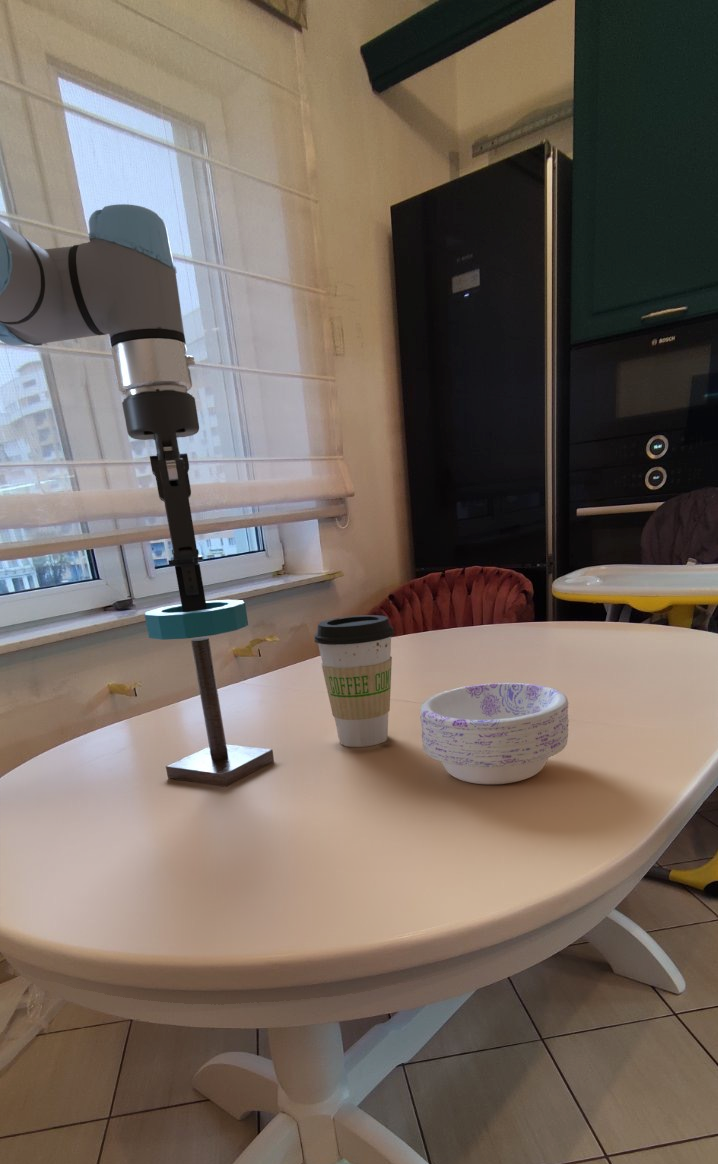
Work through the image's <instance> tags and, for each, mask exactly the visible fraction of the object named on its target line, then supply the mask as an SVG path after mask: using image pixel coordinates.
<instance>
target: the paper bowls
mask: <svg viewBox="0 0 718 1164" xmlns="http://www.w3.org/2000/svg"><path fill="white" fill-rule="evenodd" d="M419 712H420V723H421V742H422V750H423V752H424V753H425V754H426V755H427V756H428V757H430V758H432V759H433V760H435V761H439V762H441V763H442V766H443V767H444V769H445V770H446V771H447V773H448V774H449V775H450V776H452V777H454V778H455V779H457V780H460V781H462V782H466V783H471V784H477V785H504V784H512V783H518V782H521V781H524V780H527V779H529V778H531V777H533V776H536V775H537V774H538V773H539V772H541V771H542V770H543V768H545V765H546V764H547V761H548V760H549V758H551V757H553V756H555V755H557V754H559V753H560V752H562V751H563V750H564V749H565V748H566V747H567V745H568V739H569V700H568V697H567V695H566V694H565V693H564V692H562V691H560V690H558V689H556V688H553V687H550V686H546V685H540V684H532V683H522V682H521V683H520V682H497V683H495V682H493V683H481V684H480V683H479V684H474V685H473V684H472V685H467V686H461V687H456V688H452V689H449V690H444V691H442V692H438V693H436V694H434V695H432V696H430V697H428V698H427V699H426V700H424V701H423V703H422V705H421V706H420V709H419Z"/></svg>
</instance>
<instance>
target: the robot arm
mask: <svg viewBox="0 0 718 1164" xmlns="http://www.w3.org/2000/svg"><path fill="white" fill-rule="evenodd" d="M87 235H88V240H89V241H88V242H82V243H80V244H74V245H71V246H62V247H54V248H42V247H41V246H39V245H38V244H36V243H35V242H32V241H31V240H30V239H28V238H27V237H25V236H24V235H22V234H21V233H19V232H18V231H16V230H15V229H13V228H12V227H10V226H8V225H7V224H5V223H4V222H2V221H1V220H0V341H1V342H2V343H3V344H5V345H9V346H26V345H27V346H28V345H30V346H33V347H37V346H39V347H40V346H42V345H45V344H48V343H55V342H63V341H69V340H75V339H81V338H89V337H95V336H105V335H108V336H109V340H110V346H111V347H110V350H111V355H112V356H111V357H112V360H113V365H114V372H115V377H116V381H117V382H116V383H117V386H118V391H119V392H120V393H121V394H123V395H125V396H126V397H124V398H123V401H122V403H121V404H122V410H123V415H124V421H125V426H126V432H127V435H128V436H129V437H130V438H131V439H134V440H140V441H149V440H153V441H154V444H155V451H156V455H149V463H150V466H151V472H152V474H153V476H154V477H155V482H156V488H157V492H158V498H159V500H160V501H161V502H164V509H165V514H166V517H167V518H166V519H167V526H168V530H169V534H170V535H169V536H170V541H171V547H172V549H171V554H172V559H170V560H168V561H167V562H168V566H169V567H170V568H171V567H174V569H175V570H174V571H175V576H176V581H177V588H178V592H179V598H180V604H182V609H183V612H190V611H199V610H206V609H207V606H206V601H207V600H206V594H205V589H204V583H203V577H202V571H201V565H200V563H199V562H203V561H204V558H203V557H204V556H203V555H202V554H200V552H199V549H198V547H197V541H196V534H195V529H194V523H193V517H192V511H191V510H192V509H191V505H190V504H191V503H190V498H191V496H192V488H191V483H190V477H189V471H190V462H189V456H188V453H187V452H186V453H180V449H179V443H178V438H187V437H191V436H194V435H196V434H198V433H199V431H200V422H199V417H198V410H197V403H196V398H195V396H193V394H191V393H190V392H189V390H191V389H192V387H193V381H192V375H191V369H190V368H189V367H194V366H195V365H196V359H195V357H194V356H193V355H186V354H187V352H188V349H187V346H186V345H187V343H186V341H187V340H186V336H185V330H184V323H183V315H182V308H181V302H180V293H179V286H178V279H177V274H178V272H177V267H176V266H175V262H174V258H173V254H172V253H173V252H172V248H171V243H170V238H169V233H168V229H167V225H166V223H165V222H164V220H163V218H161V216H160V215H159V214H158V213H157V212H155V211H153V210H152V209H150V208H147V207H145V206H141V205H135V204H129V203H128V204H127V203H125V204H124V203H121V204H119V203H118V204H110V205H106V206H104V207H102V209H96V210H94V211H93V212H92V213H91V215H90V216H89V219H88V234H87Z"/></svg>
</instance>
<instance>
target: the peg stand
mask: <svg viewBox="0 0 718 1164" xmlns="http://www.w3.org/2000/svg"><path fill="white" fill-rule="evenodd" d="M190 645H191V649H192V656H193V661H194V667H195V673H196V678H197V679H196V680H197V684H198V690H199V696H200V702H201V708H202V714H203V719H204V725H205V730H206V737H207V741H208V742H207V743H208V746H207V747H205V748H203V749H201V750H199V751H197V752H194V753H192V754H189V755H187V756H186V757H185V756H184V757H183V758H181V759H179V760H176V761H174V762H172V763H170V764H167V765H166V766H165V770H166V775H167V778H168V779H171V780H178V781H185V782H192V783H199V784H206V785H207V784H208V785H211V786H212V785H214V786H219V787H220V786H221V787H228V786H229V785H232V784H233V783H236V782H237V781H239V780H240V779H243V778H244V777H246V776H248V775H250V774H252V773H254V772H256V771H258V770H260V769H262V768H264V767H265V766H268V765H269V764H271V763H273V762H274V761H275V758H274V752H273V751H274V750H273V749H272V748H262V747H254V746H245V745H234V744H227V740H226V735H225V728H224V722H223V717H222V710H221V704H220V703H221V702H220V698H219V693H218V685H217V679H216V674H215V668H214V661H213V655H212V648H211V643H210V638H208V637H197V638H192V639H191V641H190Z"/></svg>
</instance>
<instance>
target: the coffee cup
mask: <svg viewBox="0 0 718 1164" xmlns="http://www.w3.org/2000/svg"><path fill="white" fill-rule="evenodd" d="M395 634H396V633H395V631H394V627H393V626H391V624H390V621H389V617H388V616H385V615H379V614H378V615H377V614H376V615H375V614H367V615H365V614H364V615H363V614H362V615H351V616H342V617H336V618H331V619H326V620H323V621H320V622H319V623H318V624H317V631H316V633H315V635H314V638H313V641H314V643H316V644H317V645H318V650H319V655H320V658H321V669H322V673H323V677H324V682H325V687H326V691H327V695H328V700H329V704H330V705H329V706H330V709H331V713H332V716H333V717H334V718H333V719H334V722H335V727H336V732H337V736H338V740H339V743H340V744H341V745H342V746H345V747H350V748H363V747H365V748H366V747H372V746H377V745H380V744H383V743H384V742H386V741H387V740H388V738H389V737H388V733H389V732H388V731H389V713H390V710H391V688H392V666H393V665H392V664H393V663H392V661H393V657H392V656H391V654H392V653H391V652H392V651H391V650H392V637H393V636H395Z"/></svg>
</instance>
